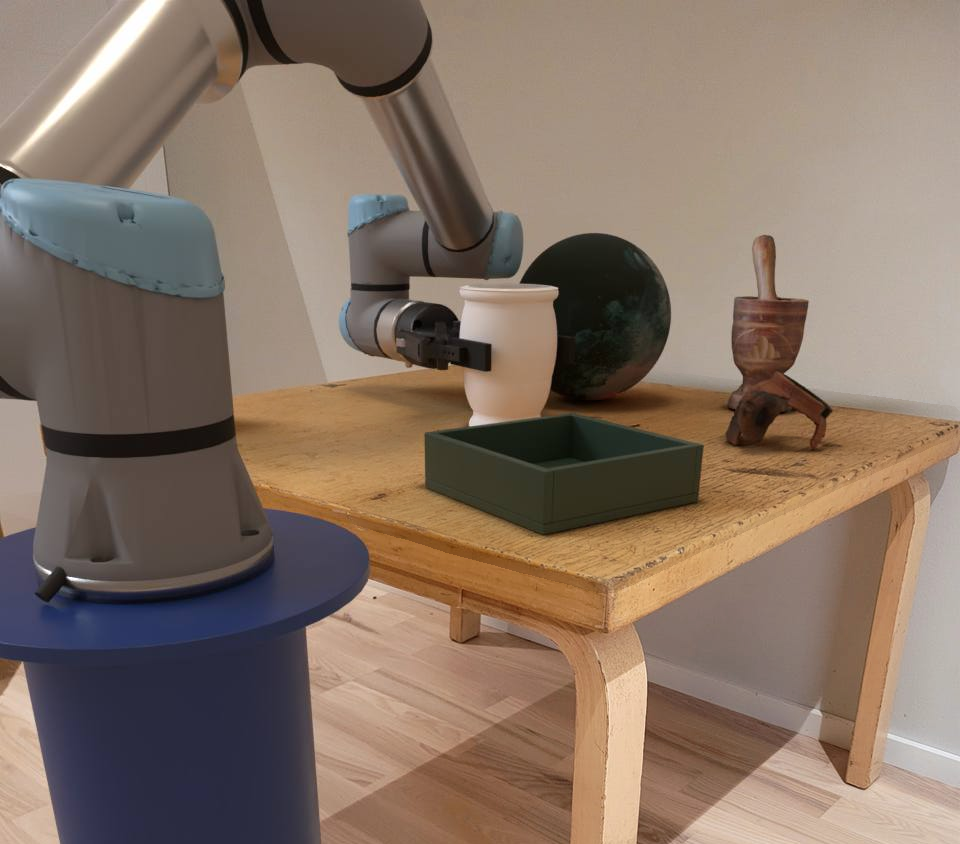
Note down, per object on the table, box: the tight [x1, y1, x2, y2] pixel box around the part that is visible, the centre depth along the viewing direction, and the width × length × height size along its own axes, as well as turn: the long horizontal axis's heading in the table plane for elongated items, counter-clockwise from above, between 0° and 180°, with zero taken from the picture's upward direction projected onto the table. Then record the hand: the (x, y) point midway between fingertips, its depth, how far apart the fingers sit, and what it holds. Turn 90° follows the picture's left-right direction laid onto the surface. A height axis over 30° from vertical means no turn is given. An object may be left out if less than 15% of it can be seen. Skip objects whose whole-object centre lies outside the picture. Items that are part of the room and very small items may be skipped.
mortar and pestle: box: [727, 234, 810, 413], centre depth 117 cm, size 12×9×20 cm
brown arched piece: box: [724, 371, 834, 450], centre depth 99 cm, size 12×10×8 cm
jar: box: [459, 282, 559, 427], centre depth 104 cm, size 11×10×15 cm
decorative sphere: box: [518, 232, 672, 401], centre depth 121 cm, size 20×20×20 cm
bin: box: [423, 412, 705, 536], centre depth 81 cm, size 17×17×5 cm
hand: (531, 354), depth 101 cm, fingers closed on jar, 10 cm apart
